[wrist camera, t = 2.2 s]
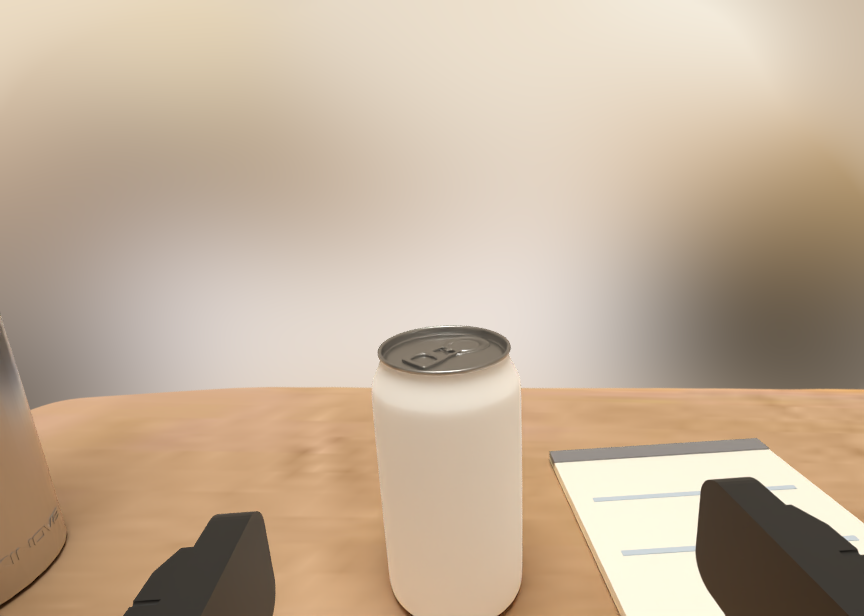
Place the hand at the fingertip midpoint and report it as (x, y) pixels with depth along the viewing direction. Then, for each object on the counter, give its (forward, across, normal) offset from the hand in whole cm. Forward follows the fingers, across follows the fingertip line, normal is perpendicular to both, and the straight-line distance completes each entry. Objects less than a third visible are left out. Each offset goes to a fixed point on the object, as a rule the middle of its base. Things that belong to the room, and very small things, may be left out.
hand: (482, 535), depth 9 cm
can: (+12, 0, +13) cm, 17 cm away
